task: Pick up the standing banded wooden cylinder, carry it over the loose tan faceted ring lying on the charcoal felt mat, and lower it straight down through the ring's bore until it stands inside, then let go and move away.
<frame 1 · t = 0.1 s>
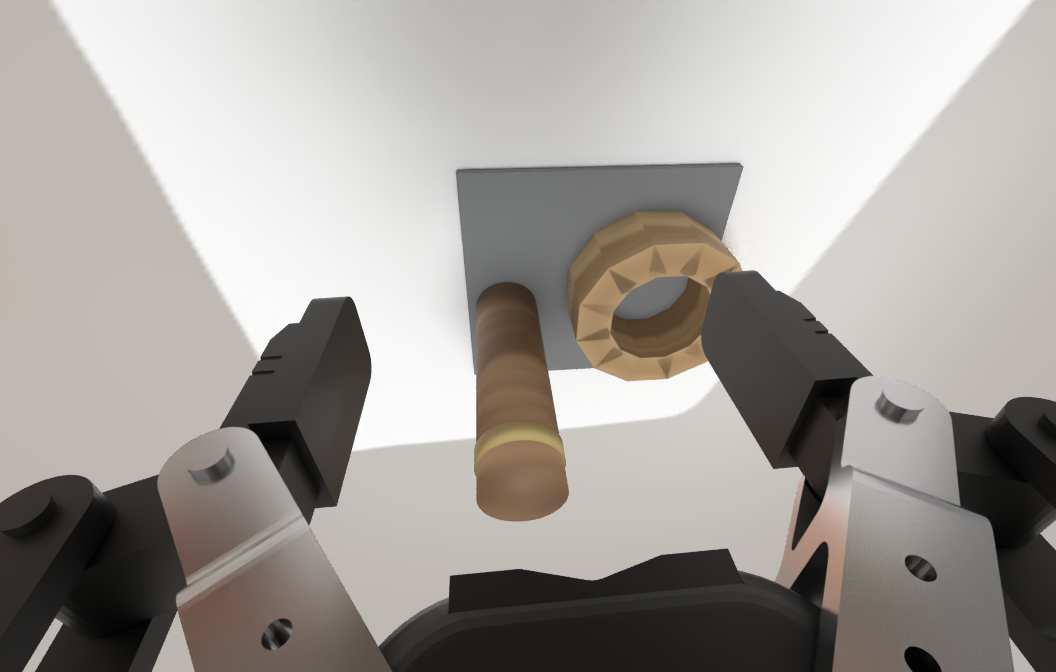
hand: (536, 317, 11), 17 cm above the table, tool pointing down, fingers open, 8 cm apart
mat: (588, 280, 31), on the table
banded wooden cylinder: (506, 307, 31), resting on mat
tan faceted ring: (643, 282, 31), resting on mat
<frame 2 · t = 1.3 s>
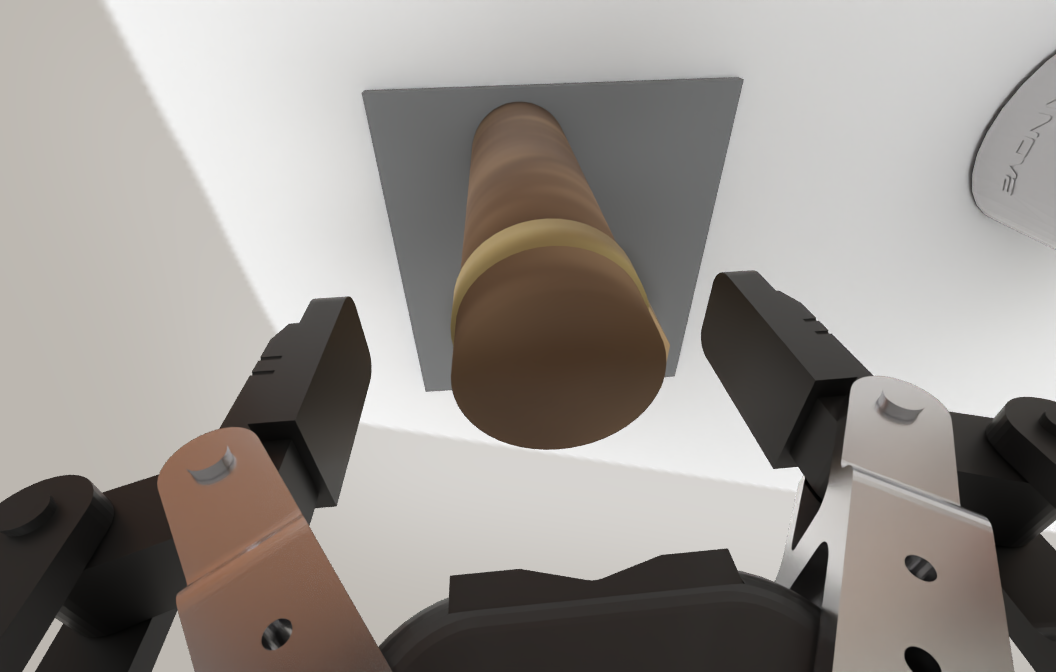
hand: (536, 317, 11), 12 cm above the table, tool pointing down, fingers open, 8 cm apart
mat: (552, 261, 24), on the table
banded wooden cylinder: (519, 153, 20), resting on mat
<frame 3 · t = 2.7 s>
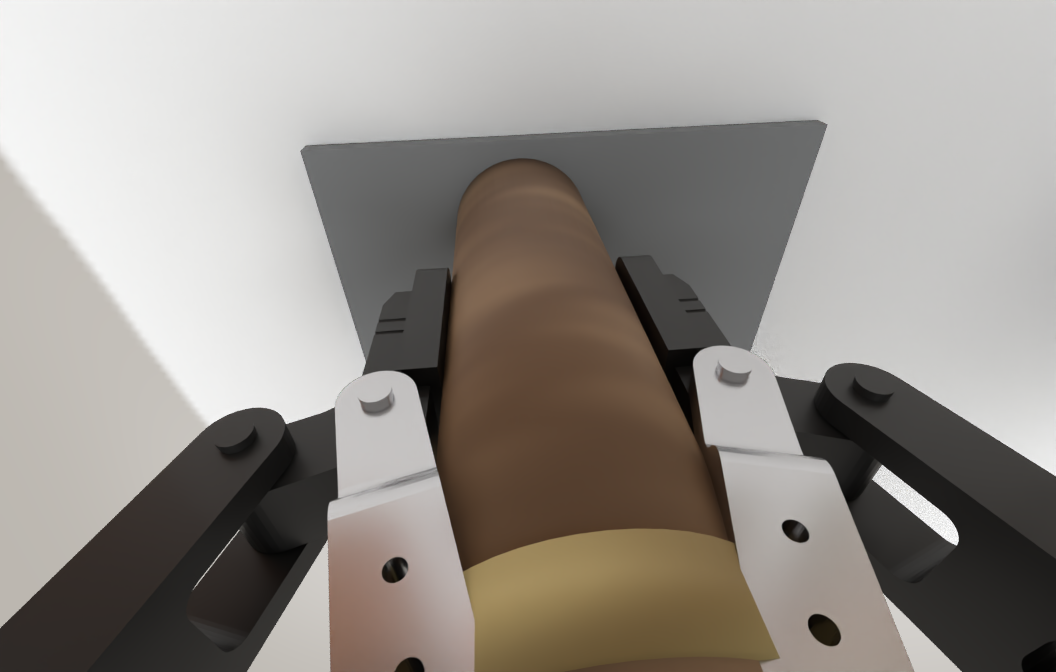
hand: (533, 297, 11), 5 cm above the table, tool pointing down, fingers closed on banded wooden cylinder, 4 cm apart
mat: (563, 346, 18), on the table
banded wooden cylinder: (521, 223, 15), resting on mat, touching gripper
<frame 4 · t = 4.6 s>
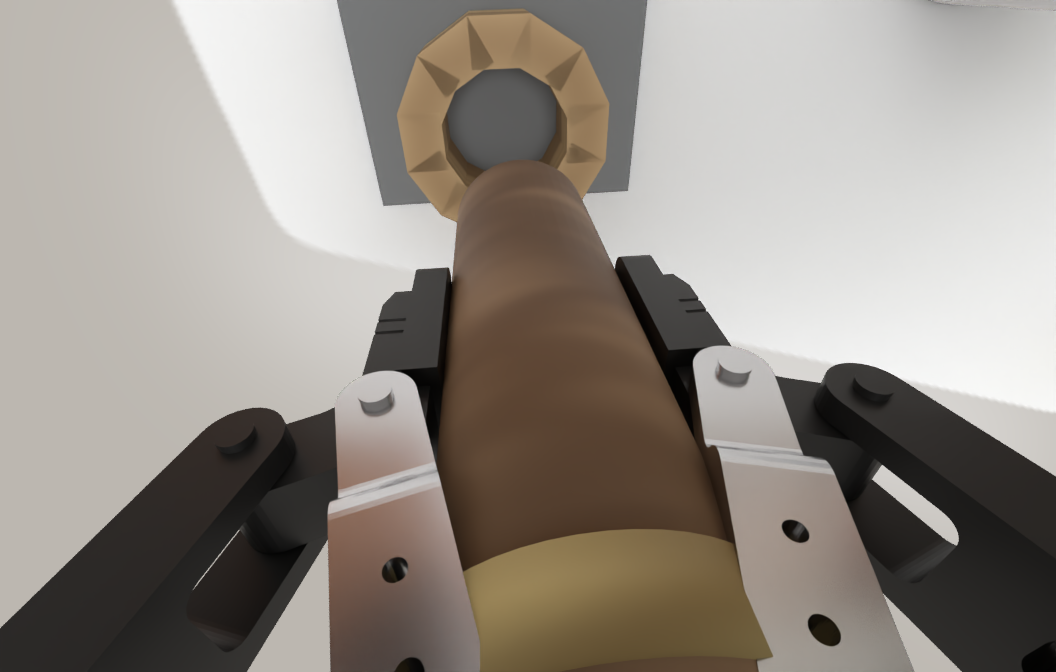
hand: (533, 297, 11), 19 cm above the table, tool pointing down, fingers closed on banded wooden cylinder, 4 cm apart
mat: (497, 44, 24), on the table
banded wooden cylinder: (521, 224, 15), point 15 cm above the table, touching gripper
tan faceted ring: (502, 119, 26), resting on mat
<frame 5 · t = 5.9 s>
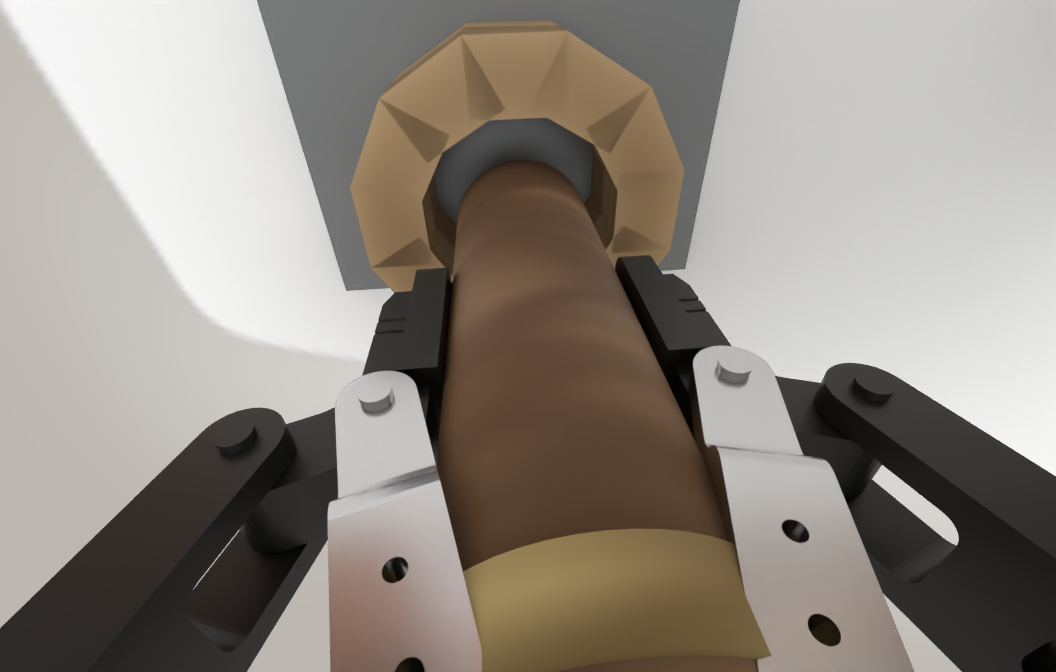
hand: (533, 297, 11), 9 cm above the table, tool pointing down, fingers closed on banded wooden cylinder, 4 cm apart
mat: (509, 72, 16), on the table
banded wooden cylinder: (521, 224, 15), point 5 cm above the table, touching gripper
tan faceted ring: (514, 178, 18), resting on mat
when the fingers open (6 cm above the table, at t = 6.8 s): banded wooden cylinder stays where it is, resting on mat.
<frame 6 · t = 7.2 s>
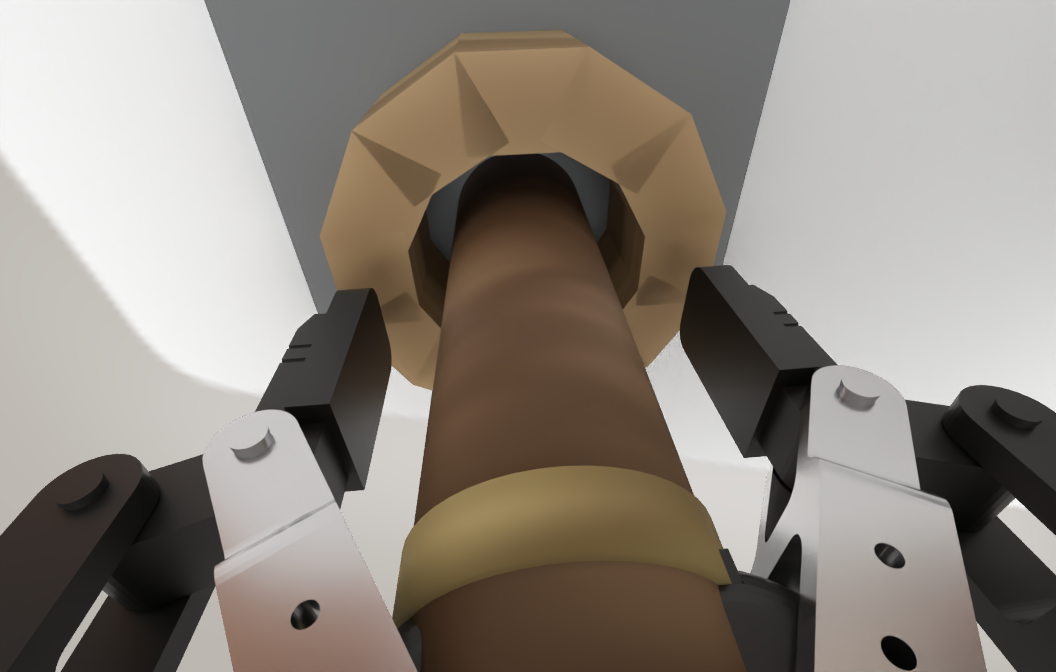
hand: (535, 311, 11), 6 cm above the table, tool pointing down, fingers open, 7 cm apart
mat: (512, 90, 14), on the table
banded wooden cylinder: (519, 213, 15), point 1 cm above the table, touching mat
tan faceted ring: (518, 211, 15), resting on mat
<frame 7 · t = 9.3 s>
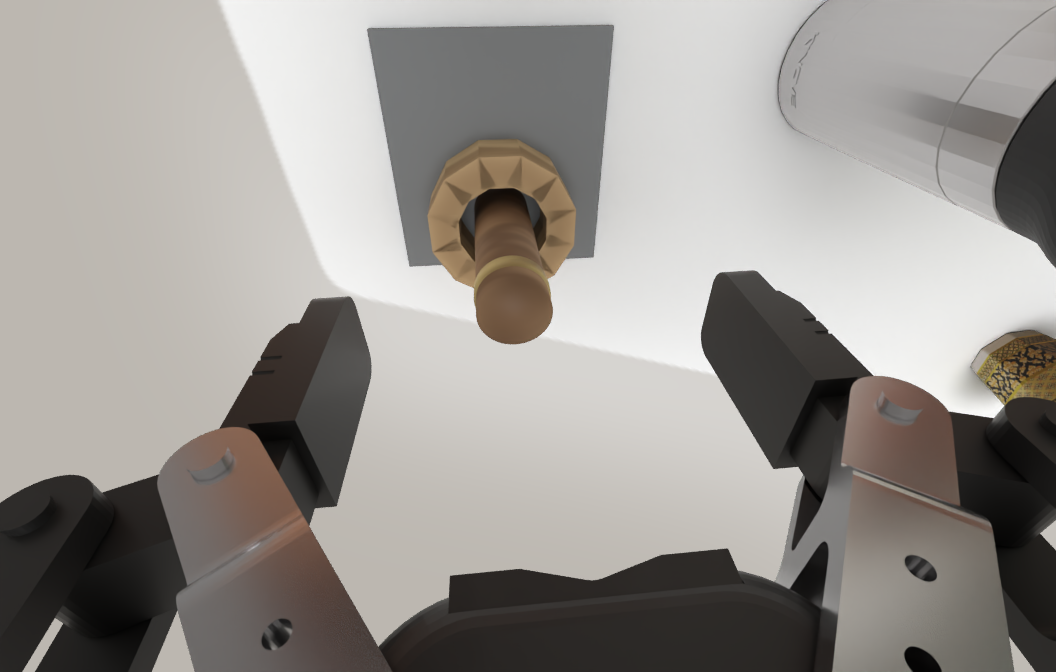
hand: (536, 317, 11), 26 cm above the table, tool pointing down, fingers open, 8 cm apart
ceramic cup: (1015, 350, 52), on the table
mat: (498, 159, 34), on the table
banded wooden cylinder: (500, 209, 35), point 1 cm above the table, touching mat
tan faceted ring: (500, 208, 35), resting on mat
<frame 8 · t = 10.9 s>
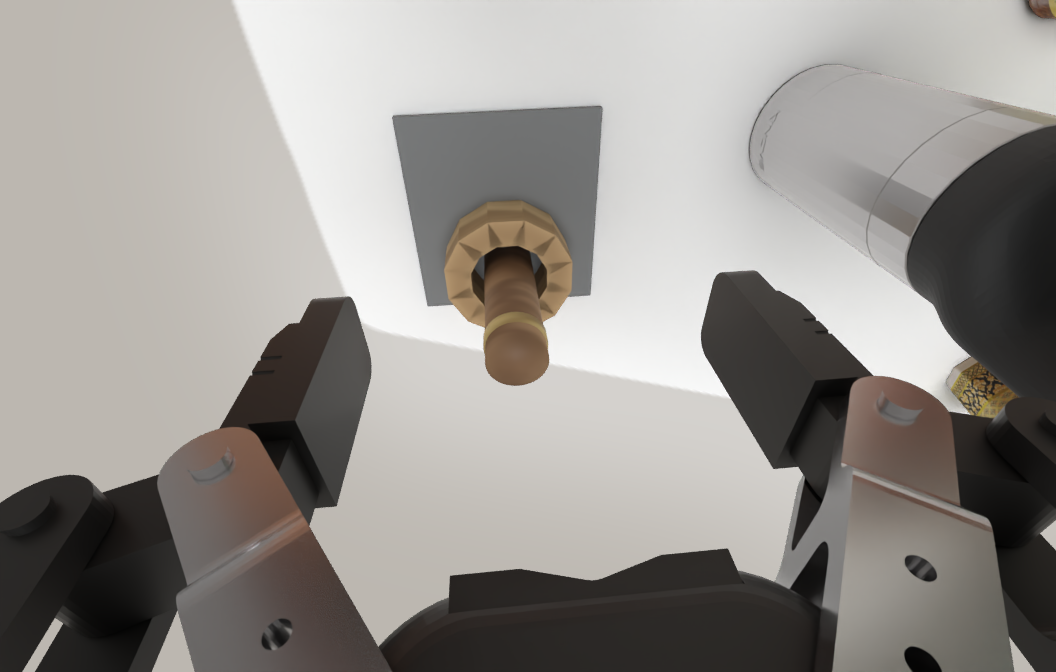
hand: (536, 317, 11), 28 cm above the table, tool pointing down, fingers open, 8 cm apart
ceramic cup: (987, 367, 55), on the table
mat: (504, 216, 39), on the table
banded wooden cylinder: (507, 257, 40), point 1 cm above the table, touching mat
tan faceted ring: (507, 257, 40), resting on mat
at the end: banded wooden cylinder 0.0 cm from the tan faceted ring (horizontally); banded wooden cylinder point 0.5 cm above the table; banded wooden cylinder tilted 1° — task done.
